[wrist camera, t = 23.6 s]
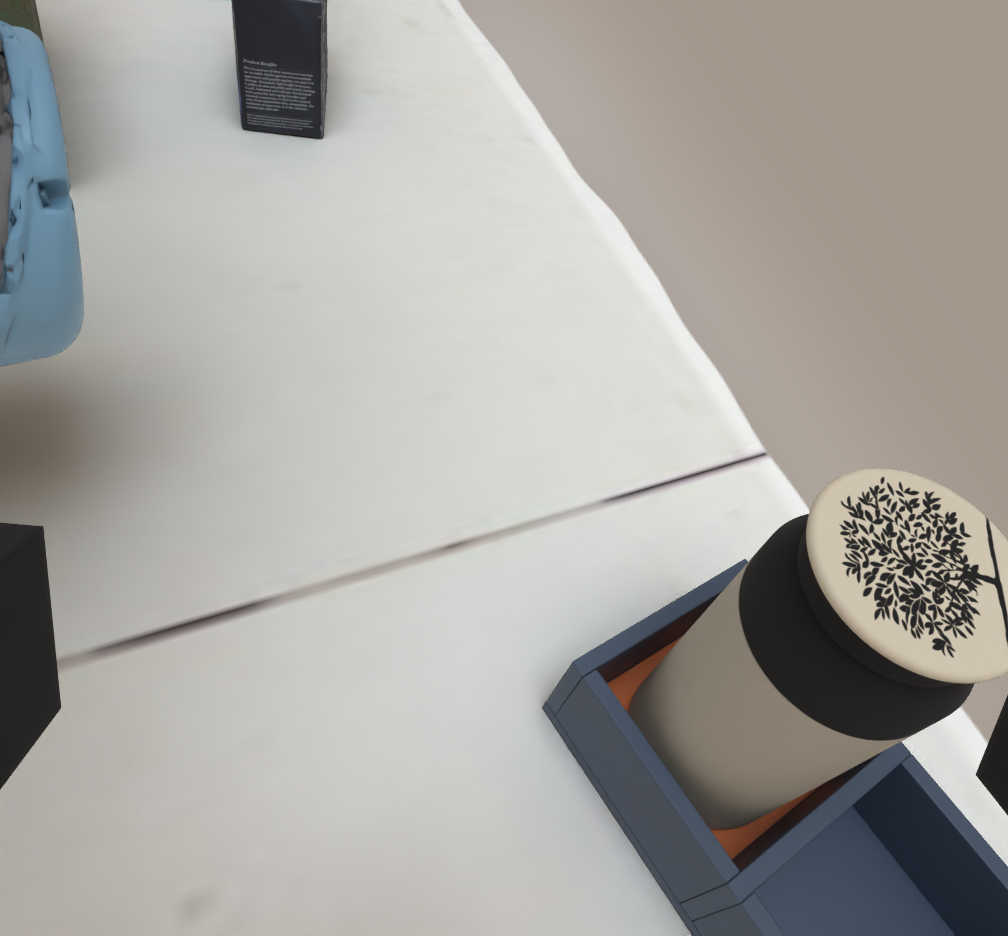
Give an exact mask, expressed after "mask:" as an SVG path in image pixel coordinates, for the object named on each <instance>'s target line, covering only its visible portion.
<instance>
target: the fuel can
mask: <svg viewBox="0 0 1008 936" xmlns="http://www.w3.org/2000/svg"><path fill="white" fill-rule="evenodd" d="M0 21H3V22H5V23H8V24H9V25H11V26H16V27H23V28H25V29H28V30H30V31H32V32H33V33H35V34H36V35H37V36H38V37H39V38H40V40H41V41H42V43H43V38H42V33H41V28H40V23H39V17H38V12H37V7H36V2H35V0H0ZM43 45H44V43H43Z"/></svg>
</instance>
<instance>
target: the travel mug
mask: <svg viewBox="0 0 1008 936" xmlns="http://www.w3.org/2000/svg"><path fill="white" fill-rule="evenodd" d="M1007 673H1008V541H1007V540H1006V538H1005V537H1004V536H1003V535H1002V533H1001V532H1000V531H999V530H998V529H997V528H996V527H995V526H994V525H993V524H992V522H990V520H988V519H987V518H986V517H985V516H984V515H983V514H982V513H981V512H980V511H978V510H977V509H976V508H975V507H974V506H972V505H971V504H970V503H968V502H967V501H966V500H964V499H963V498H961V497H960V496H958V495H957V494H955V493H954V492H952V491H950V490H949V489H947V488H945V487H943V486H941V485H939V484H937V483H935V482H933V481H931V480H928V479H926V478H923V477H921V476H918V475H915V474H911V473H907V472H904V471H898V470H892V469H876V468H873V469H863V470H858V471H853V472H850V473H847V474H845V475H842V476H840V477H838V478H837V479H835V480H833V481H832V482H830V483H829V484H828V485H827V486H826V487H825V488H824V489H823V490H822V491H821V492H820V493H819V495H818V496H817V498H816V499H815V501H814V503H813V505H812V507H811V509H810V513H809V514H806V515H803V516H800V517H797V518H795V519H792V520H791V521H789V522H787V523H785V524H784V525H783V526H781V527H780V528H779V529H778V530H777V531H776V532H775V533H774V534H773V535H772V536H771V537H770V538H769V539H768V540H767V542H766V543H765V544H764V545H763V546H762V547H761V548H760V549H759V551H758V552H757V553H756V554H755V555H754V556H753V557H752V559H751V560H750V561H749V562H748V563H747V564H746V565H745V566H744V568H743V569H742V570H741V571H740V572H739V573H738V574H737V576H736V577H735V578H734V579H733V580H732V581H731V582H730V583H729V585H728V586H727V587H726V588H725V589H724V590H723V591H722V593H721V594H720V595H719V596H718V597H717V598H716V599H715V600H714V602H713V603H712V604H711V605H710V606H709V607H708V608H707V610H706V611H705V612H704V613H703V614H702V615H701V616H700V618H699V619H698V620H697V621H696V622H695V623H694V624H693V625H692V627H691V628H690V629H689V630H688V631H687V632H686V633H685V635H684V636H683V637H682V638H681V639H680V640H679V641H678V642H677V644H676V645H675V646H674V647H673V648H672V649H671V650H670V652H669V653H668V654H667V655H666V656H665V657H664V658H663V659H662V661H661V662H660V663H659V664H658V665H657V666H656V667H655V669H654V670H653V671H652V672H651V673H650V674H649V675H648V676H647V678H646V679H645V680H644V681H643V682H642V683H641V685H640V686H639V687H638V689H637V690H636V692H635V693H634V696H633V698H632V700H631V703H630V705H629V709H628V714H629V715H630V717H631V718H632V720H633V721H634V723H635V724H636V725H637V727H638V728H639V730H640V731H641V732H642V734H643V735H644V737H645V738H646V739H647V741H648V742H649V744H650V745H651V747H652V748H653V749H654V751H655V752H656V754H657V755H658V756H659V758H660V759H661V761H662V762H663V763H664V765H665V766H666V768H667V769H668V771H669V772H670V773H671V775H672V776H673V778H674V779H675V780H676V782H677V783H678V785H679V786H680V787H681V789H682V790H683V792H684V793H685V795H686V796H687V797H688V799H689V800H690V802H691V803H692V804H693V806H694V807H695V809H696V810H697V811H698V813H699V814H700V816H701V817H702V819H703V820H704V821H705V823H706V824H707V826H708V827H709V828H710V829H720V830H722V829H733V828H738V827H742V826H745V825H747V824H749V823H751V822H753V821H755V820H757V819H759V818H761V817H763V816H764V815H766V814H768V813H770V812H772V811H774V810H775V809H777V808H779V807H781V806H783V805H785V804H787V803H788V802H790V801H792V800H794V799H796V798H798V797H799V796H801V795H803V794H805V793H807V792H809V791H810V790H812V789H814V788H816V787H818V786H820V785H822V784H823V783H825V782H827V781H829V780H831V779H833V778H834V777H836V776H838V775H840V774H842V773H844V772H846V771H847V770H849V769H851V768H853V767H855V766H857V765H858V764H860V763H862V762H864V761H866V760H868V759H869V758H871V757H873V756H875V755H877V754H879V753H881V752H882V751H884V750H886V749H888V748H890V747H892V746H893V745H895V744H897V743H899V742H901V741H903V740H905V739H906V738H908V737H910V736H912V735H914V734H916V733H917V732H919V731H921V730H923V729H925V728H927V727H928V726H930V725H932V724H934V723H936V722H938V721H940V720H941V719H943V718H945V717H947V716H948V715H950V714H952V713H953V712H954V711H955V710H957V709H958V708H959V707H960V706H961V705H962V703H964V701H965V700H966V699H967V697H968V696H969V694H970V692H971V690H972V688H973V686H974V683H980V682H985V681H990V680H993V679H996V678H999V677H1001V676H1003V675H1005V674H1007Z"/></svg>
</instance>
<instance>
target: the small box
mask: <svg viewBox="0 0 1008 936" xmlns="http://www.w3.org/2000/svg"><path fill="white" fill-rule="evenodd" d="M232 15H233V30H234V41H235V54H236V67H237V79H238V92H239V104H240V114H241V124H242V128H243V129H247V130H255V131H264V132H272V133H281V134H290V135H299V136H308V137H317V138H322V137H323V135H324V119H325V111H326V110H325V102H326V92H327V90H326V88H327V0H232Z"/></svg>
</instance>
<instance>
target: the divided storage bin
mask: <svg viewBox="0 0 1008 936" xmlns="http://www.w3.org/2000/svg"><path fill="white" fill-rule="evenodd" d="M747 563H748V561H747V560H746V559H744V560H742V561H740V562H739V563H737V564H735V565H734V566H732V567H730V568H729V569H727V570H725V571H724V572H722V573H720V574H719V575H717V576H715V577H714V578H712V579H710V580H709V581H707V582H705V583H704V584H702V585H700V586H699V587H697V588H695V589H693V590H692V591H690V592H688V593H687V594H685V595H683V596H682V597H680V598H678V599H677V600H675V601H673V602H672V603H670V604H668V605H667V606H665V607H663V608H662V609H660V610H658V611H657V612H655V613H653V614H652V615H650V616H648V617H647V618H645V619H643V620H641V621H640V622H638V623H636V624H635V625H633V626H631V627H630V628H628V629H626V630H625V631H623V632H621V633H620V634H618V635H616V636H615V637H613V638H611V639H610V640H608V641H606V642H605V643H603V644H601V645H600V646H598V647H596V648H595V649H593V650H591V651H589V652H588V653H586V654H584V655H583V656H581V657H579V658H578V659H576V660H574V661H573V662H572V664H571V665H570V667H569V668H568V670H567V671H566V673H565V674H564V676H563V677H562V679H561V680H560V682H559V683H558V685H557V686H556V688H555V689H554V691H553V692H552V694H551V695H550V696H549V698H548V699H547V701H546V702H545V704H544V705H543V707H542V708H543V710H544V711H545V713H546V714H547V716H548V717H549V719H550V720H551V722H552V723H553V725H554V726H555V728H556V729H557V731H558V732H559V734H560V735H561V737H562V738H563V740H564V741H565V743H566V744H567V746H568V747H569V749H570V750H571V752H572V753H573V755H574V756H575V758H576V759H577V761H578V762H579V764H580V765H581V767H582V769H583V770H584V772H585V773H586V775H587V776H588V778H589V779H590V781H591V782H592V784H593V785H594V787H595V788H596V790H597V791H598V793H599V794H600V796H601V797H602V799H603V800H604V802H605V803H606V805H607V806H608V808H609V809H610V811H611V812H612V814H613V815H614V817H615V818H616V820H617V821H618V823H619V824H620V826H621V827H622V829H623V831H624V832H625V834H626V835H627V837H628V838H629V840H630V841H631V843H632V844H633V846H634V847H635V849H636V850H637V852H638V853H639V855H640V856H641V858H642V859H643V861H644V862H645V864H646V865H647V867H648V868H649V870H650V871H651V873H652V874H653V876H654V877H655V879H656V880H657V882H658V883H659V885H660V886H661V888H662V889H663V891H664V892H665V894H666V896H667V897H668V899H669V900H670V902H671V903H672V905H673V906H674V908H675V909H676V911H677V912H678V914H679V915H680V917H681V918H682V920H683V921H684V923H685V924H686V926H687V927H688V929H689V930H690V932H691V933H692V935H693V936H1008V867H1007V865H1006V864H1005V863H1004V862H1003V861H1002V860H1001V858H1000V857H999V856H998V855H997V854H996V853H995V851H994V850H993V849H992V848H991V847H990V845H989V844H988V843H987V842H986V841H985V840H984V838H983V837H982V836H981V835H980V834H979V833H978V831H977V830H976V829H975V828H974V827H973V825H972V824H971V823H970V822H969V821H968V820H967V818H966V817H965V816H964V815H963V814H962V813H961V811H960V810H959V809H958V808H957V807H956V805H955V804H954V803H953V802H952V801H951V800H950V798H949V797H948V796H947V795H946V794H945V793H944V791H943V790H942V789H941V788H940V787H939V786H938V784H937V783H936V782H935V781H934V780H933V778H932V777H931V776H930V775H929V774H928V773H927V771H926V770H925V769H924V768H923V767H922V766H921V764H920V763H919V762H918V761H917V760H916V758H915V757H914V756H913V755H910V754H911V753H910V751H909V750H908V749H907V748H906V747H905V746H904V744H903V743H902V742H899V743H897V744H895V745H893V746H892V747H890V748H888V749H886V750H884V751H882V752H881V753H879V754H877V755H875V756H873V757H871V758H869V759H868V760H866V761H864V762H862V763H860V764H858V765H857V766H855V767H853V768H851V769H849V770H847V771H846V772H844V773H842V774H840V775H838V776H836V777H834V778H833V779H831V780H829V781H827V782H825V783H823V784H822V785H820V786H818V787H816V788H814V789H812V790H810V791H809V792H807V793H805V794H803V795H801V796H799V797H798V798H796V799H794V800H792V801H790V802H788V803H787V804H785V805H783V806H781V807H779V808H777V809H775V810H774V811H772V812H770V813H768V814H766V815H764V816H763V817H761V818H759V819H757V820H755V821H753V822H751V823H749V824H747V825H745V826H742V827H738V828H733V829H722V830H720V829H710V828H709V827H708V826H707V824H706V823H705V821H704V820H703V819H702V817H701V816H700V814H699V813H698V811H697V810H696V809H695V807H694V806H693V804H692V803H691V802H690V800H689V799H688V797H687V796H686V795H685V793H684V792H683V790H682V789H681V787H680V786H679V785H678V783H677V782H676V780H675V779H674V778H673V776H672V775H671V773H670V772H669V771H668V769H667V768H666V766H665V765H664V763H663V762H662V761H661V759H660V758H659V756H658V755H657V754H656V752H655V751H654V749H653V748H652V747H651V745H650V744H649V742H648V741H647V739H646V738H645V737H644V735H643V734H642V732H641V731H640V730H639V728H638V727H637V725H636V724H635V723H634V721H633V720H632V718H631V717H630V715H629V714H628V709H629V705H630V703H631V700H632V698H633V696H634V693H635V692H636V690H637V689H638V687H639V686H640V685H641V683H642V682H643V681H644V680H645V679H646V678H647V676H648V675H649V674H650V673H651V672H652V671H653V670H654V669H655V667H656V666H657V665H658V664H659V663H660V662H661V661H662V659H663V658H664V657H665V656H666V655H667V654H668V653H669V652H670V650H671V649H672V648H673V647H674V646H675V645H676V644H677V642H678V641H679V640H680V639H681V638H682V637H683V636H684V635H685V633H686V632H687V631H688V630H689V629H690V628H691V627H692V625H693V624H694V623H695V622H696V621H697V620H698V619H699V618H700V616H701V615H702V614H703V613H704V612H705V611H706V610H707V608H708V607H709V606H710V605H711V604H712V603H713V602H714V600H715V599H716V598H717V597H718V596H719V595H720V594H721V593H722V591H723V590H724V589H725V588H726V587H727V586H728V585H729V583H730V582H731V581H732V580H733V579H734V578H735V577H736V576H737V574H738V573H739V572H740V571H741V570H742V569H743V568H744V566H745V565H746V564H747Z"/></svg>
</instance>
